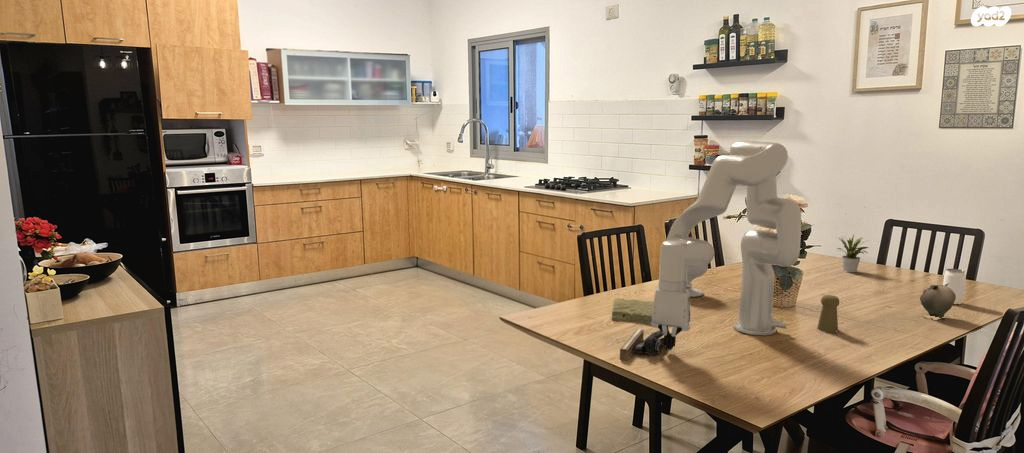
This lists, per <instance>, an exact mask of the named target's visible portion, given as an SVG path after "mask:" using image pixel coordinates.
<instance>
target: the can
mask: <svg viewBox="0 0 1024 453" xmlns="http://www.w3.org/2000/svg"><path fill="white" fill-rule="evenodd" d="M943 276H944V277H943V284H942V285H946V284H948V283H949V284H948V285H947V287H949V288H950V289H951V290H952V291H953V292H954V293H955V295H956V298H955V303H960V302H962V303H963V300H964V295H965V294H964V292H965V285H966V279H967V278H966V277H967V276H966V273H965V270H963V269H958V268H957V269H956V268H946V271H945V272H944V275H943Z"/></svg>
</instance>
